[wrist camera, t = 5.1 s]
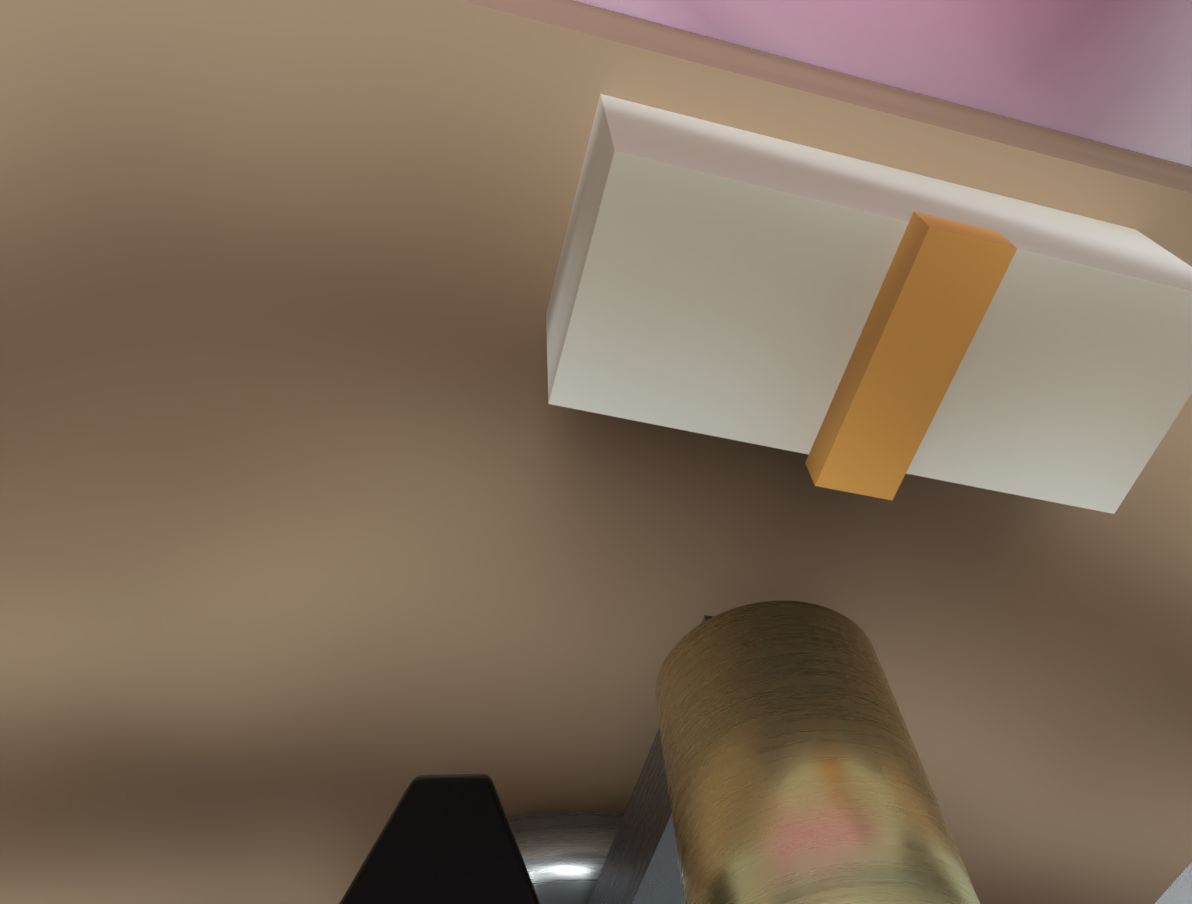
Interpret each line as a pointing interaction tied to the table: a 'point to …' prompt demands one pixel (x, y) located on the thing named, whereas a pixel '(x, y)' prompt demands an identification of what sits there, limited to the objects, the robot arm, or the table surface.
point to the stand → (560, 434)
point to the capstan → (762, 782)
